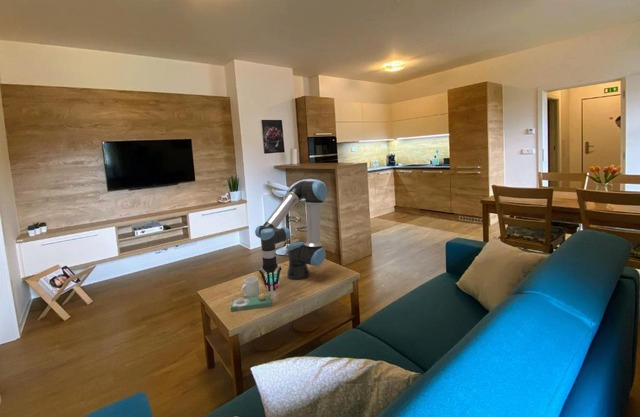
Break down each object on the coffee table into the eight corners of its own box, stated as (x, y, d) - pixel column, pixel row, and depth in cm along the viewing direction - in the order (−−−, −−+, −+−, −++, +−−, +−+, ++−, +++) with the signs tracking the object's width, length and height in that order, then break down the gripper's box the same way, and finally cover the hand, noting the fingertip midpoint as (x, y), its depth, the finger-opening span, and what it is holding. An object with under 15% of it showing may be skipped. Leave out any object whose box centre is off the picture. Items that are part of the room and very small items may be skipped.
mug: (237, 299, 199) (235, 282, 197) (253, 292, 208) (252, 275, 206) (246, 303, 194) (244, 285, 191) (262, 295, 202) (261, 278, 200)
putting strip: (270, 298, 198) (270, 294, 197) (271, 306, 188) (271, 302, 188) (232, 303, 194) (232, 299, 194) (231, 311, 184) (230, 307, 184)
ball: (265, 297, 194) (264, 291, 193) (265, 300, 190) (264, 294, 189) (258, 298, 193) (258, 292, 192) (258, 301, 190) (258, 295, 189)
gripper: (280, 253, 192) (283, 291, 197) (257, 255, 190) (260, 294, 195) (281, 257, 185) (284, 297, 190) (257, 260, 183) (260, 300, 187)
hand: (272, 295), depth 192 cm, fingers closed
